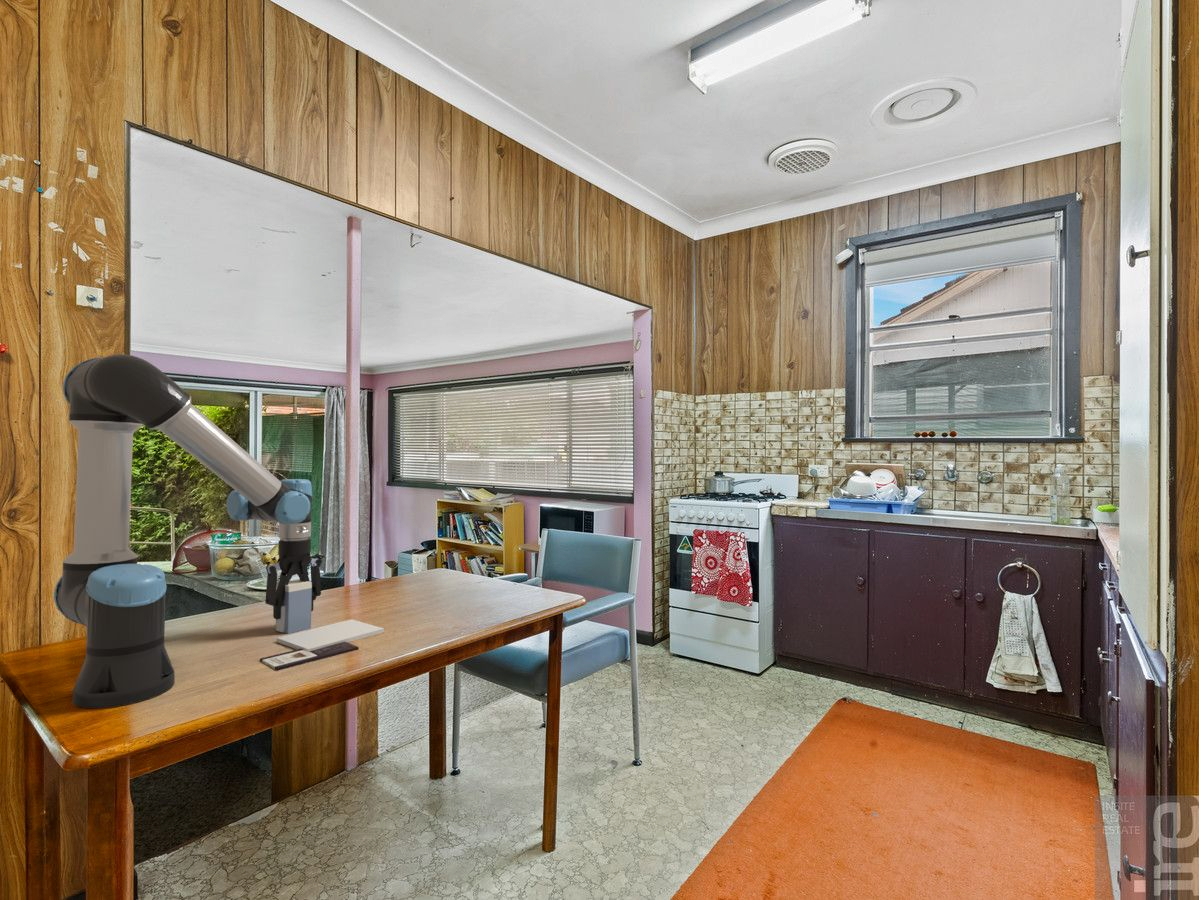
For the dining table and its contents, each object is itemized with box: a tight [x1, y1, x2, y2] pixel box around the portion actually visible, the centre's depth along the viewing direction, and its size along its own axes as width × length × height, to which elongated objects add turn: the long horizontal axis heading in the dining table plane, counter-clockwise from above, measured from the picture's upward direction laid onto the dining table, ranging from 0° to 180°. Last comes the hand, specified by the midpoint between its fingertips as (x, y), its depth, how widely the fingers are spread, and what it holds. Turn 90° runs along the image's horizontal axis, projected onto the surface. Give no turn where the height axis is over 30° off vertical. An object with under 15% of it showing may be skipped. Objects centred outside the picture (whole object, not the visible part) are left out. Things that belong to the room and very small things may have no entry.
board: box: [275, 618, 385, 652], centre depth 148 cm, size 20×14×1 cm
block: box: [276, 579, 312, 635], centre depth 154 cm, size 6×6×12 cm
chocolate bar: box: [259, 642, 360, 672], centre depth 135 cm, size 9×1×18 cm
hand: (293, 627), depth 154 cm, fingers closed on block, 6 cm apart
